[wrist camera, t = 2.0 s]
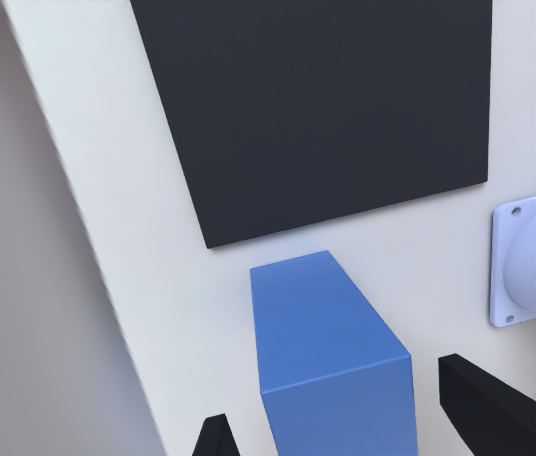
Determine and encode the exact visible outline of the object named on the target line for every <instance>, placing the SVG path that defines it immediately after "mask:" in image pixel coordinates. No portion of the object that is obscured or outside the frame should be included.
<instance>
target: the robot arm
mask: <svg viewBox="0 0 536 456" xmlns="http://www.w3.org/2000/svg"><path fill="white" fill-rule="evenodd" d="M513 210H514V212H513V213H512V211H513ZM532 319H536V196H533V197H529V198H525V199H521V200H517V201H513V202H508V203H504V204H501V205H499V206H498V207H497V208H496V209H495V211H494V214H493V239H492V267H491V295H490V323H491V324H493V325H494V326H495V327H498V328H500V327H505V326H509V325H513V324H517V323H520V322H524V321H528V320H532ZM438 364H439V394H440V405H441V406H442V408H443V410H444V411H445V413H446V415H447V416H448V418H449V419H450V421H451V423H452V424H453V426H454V427H455V429H456V430H457V432H458V433H459V435H460V437H461V438H462V440H463V441H464V442H465V444H466V445H467V446H468V448H469V449H470V450H471V451H472V453H473V454H474V455H475V456H536V401H535V400H533V399H531V398H529V397H528V396H526V395H524V394H522V393H521V392H519V391H517V390H516V389H514V388H512V387H511V386H509V385H507V384H506V383H504V382H502V381H501V380H499V379H497V378H496V377H494V376H492V375H491V374H489V373H488V372H486V371H484V370H483V369H481V368H479V367H478V366H476V365H474V364H473V363H471V362H470V361H468V360H466V359H465V358H463V357H461V356H460V355H458V354H456V353H455V354H451V355H448V356H444V357H440V358H438ZM192 456H240V454H239V451H238V448H237V446H236V443H235V440H234V437H233V435H232V432H231V429H230V426H229V424H228V421H227V418H226V415H225V413H224V414H220V415H216V416H212V417H209V418H206V419H205V421H204V423H203V426H202V429H201V432H200V435H199V438H198V440H197V443H196V446H195V449H194V452H193V454H192Z"/></svg>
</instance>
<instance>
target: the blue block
mask: <svg viewBox="0 0 536 456" xmlns="http://www.w3.org/2000/svg"><path fill="white" fill-rule="evenodd" d="M250 277H251V289H252V300H253V312H254V324H255V336H256V348H257V360H258V372H259V384H260V394H261V397H262V401H263V404H264V408H265V411H266V414H267V418H268V421H269V424H270V428H271V431H272V434H273V438H274V441H275V444H276V448H277V451H278V454H279V456H418V445H417V431H416V417H415V404H414V390H413V376H412V362H411V355H410V353H409V352H408V351H407V350H406V348H405V347H404V346H403V345H402V343H401V342H400V341H399V339H398V338H397V337H396V336H395V334H394V333H393V332H392V331H391V329H390V328H389V327H388V326H387V324H386V323H385V322H384V321H383V319H382V318H381V317H380V316H379V314H378V313H377V312H376V311H375V309H374V308H373V307H372V305H371V304H370V303H369V302H368V300H367V299H366V298H365V297H364V295H363V294H362V293H361V292H360V290H359V289H358V288H357V287H356V285H355V284H354V283H353V282H352V280H351V279H350V278H349V276H348V275H347V274H346V273H345V271H344V270H343V269H342V268H341V266H340V265H339V264H338V263H337V261H336V260H335V259H334V258H333V256H332V255H331V254H330V253H329V251H327V250H326V251H322V252H318V253H314V254H310V255H306V256H302V257H298V258H294V259H289V260H285V261H281V262H277V263H273V264H269V265H265V266H261V267H257V268H252V269H250Z"/></svg>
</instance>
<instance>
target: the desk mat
mask: <svg viewBox="0 0 536 456" xmlns="http://www.w3.org/2000/svg"><path fill="white" fill-rule="evenodd" d="M130 2H131V5H132V8H133V12H134V15H135V18H136V21H137V24H138V28H139V31H140V34H141V37H142V40H143V44H144V47H145V50H146V53H147V57H148V60H149V63H150V66H151V69H152V73H153V76H154V79H155V82H156V86H157V89H158V92H159V95H160V98H161V102H162V105H163V108H164V111H165V115H166V118H167V121H168V124H169V127H170V131H171V134H172V137H173V140H174V144H175V147H176V150H177V153H178V156H179V160H180V163H181V166H182V169H183V173H184V176H185V179H186V182H187V185H188V189H189V192H190V195H191V198H192V201H193V205H194V208H195V211H196V214H197V218H198V221H199V224H200V227H201V230H202V234H203V237H204V240H205V243H206V247H207V249H209V248H213V247H217V246H221V245H225V244H230V243H234V242H238V241H242V240H246V239H250V238H255V237H259V236H263V235H267V234H271V233H275V232H279V231H284V230H288V229H292V228H296V227H300V226H304V225H309V224H313V223H317V222H321V221H325V220H329V219H334V218H338V217H342V216H346V215H350V214H354V213H358V212H363V211H367V210H371V209H375V208H379V207H383V206H388V205H392V204H396V203H400V202H404V201H408V200H413V199H417V198H421V197H425V196H429V195H433V194H437V193H442V192H446V191H450V190H454V189H458V188H462V187H467V186H471V185H475V184H479V183H483V182H487V180H488V144H489V107H490V71H491V35H492V0H130Z"/></svg>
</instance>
